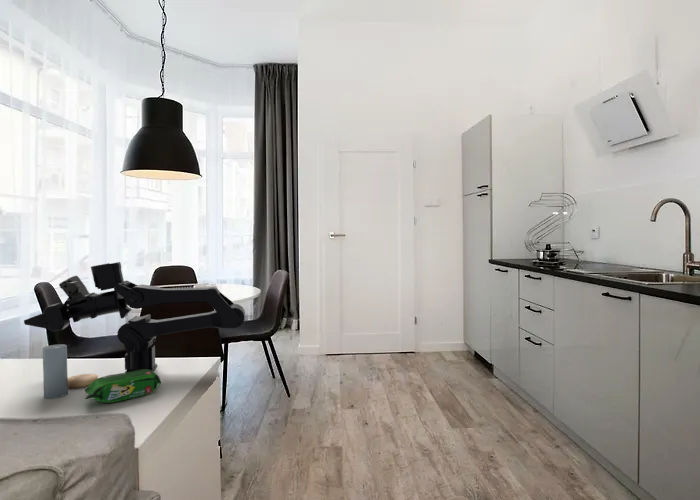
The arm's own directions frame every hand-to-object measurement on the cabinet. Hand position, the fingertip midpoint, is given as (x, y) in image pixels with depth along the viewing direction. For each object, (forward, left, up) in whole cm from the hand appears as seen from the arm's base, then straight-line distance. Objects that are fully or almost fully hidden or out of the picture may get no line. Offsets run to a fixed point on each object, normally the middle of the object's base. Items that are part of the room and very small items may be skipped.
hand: (34, 317), depth 108 cm
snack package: (-27, +19, -16) cm, 36 cm away
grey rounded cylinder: (-11, +15, -15) cm, 24 cm away
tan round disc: (-14, +8, -15) cm, 22 cm away
